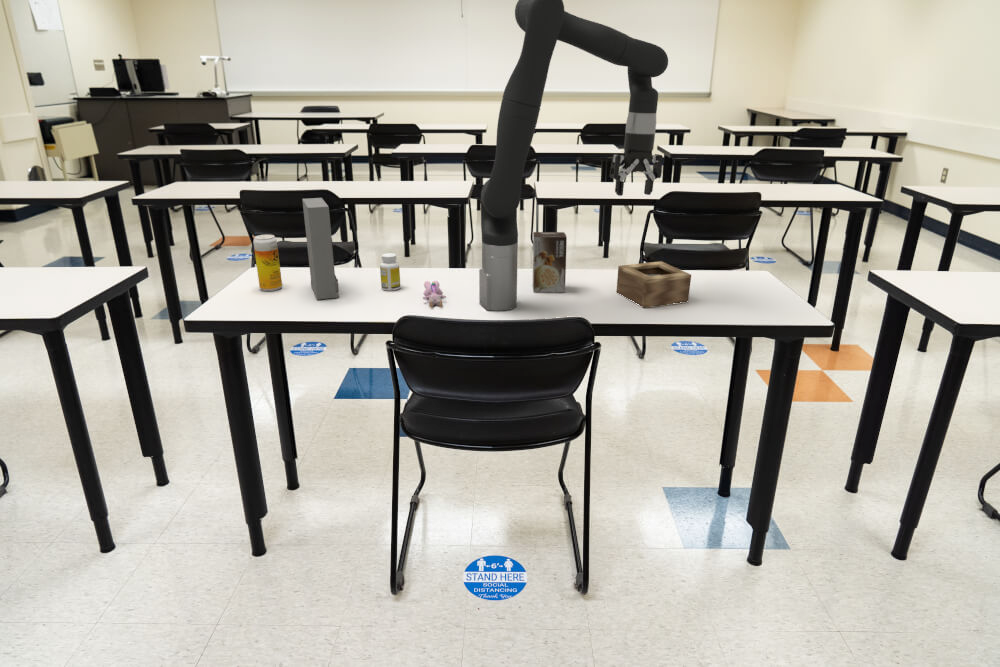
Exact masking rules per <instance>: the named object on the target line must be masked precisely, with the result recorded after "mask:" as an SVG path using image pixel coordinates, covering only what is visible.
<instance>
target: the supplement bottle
mask: <svg viewBox="0 0 1000 667" xmlns="http://www.w3.org/2000/svg"><path fill="white" fill-rule="evenodd" d="M381 260H382V262H380V264H379V271H380V272H379V273H380V285H381V289H382V290H383V291H389V292H391V291H393V292H394V291H397V290H400V289H401V273H400V272H401V271H400V270H401V269H400V264H399V262H398V261H397V254H396V253H392V252H390V253H387V252H386V253H383V254H382V255H381Z"/></svg>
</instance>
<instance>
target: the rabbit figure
mask: <svg viewBox="0 0 1000 667" xmlns="http://www.w3.org/2000/svg"><path fill="white" fill-rule="evenodd" d="M423 286H424V288H425V290H424V291H423V295H424V296H422V299H423V300H425V299H428V301H427V302H428V305H429V308H430V309H431V310H432V308H433V309H434V306H437V307H438V308H442V307H443V305H442V304H443V300H442V298H444V299H445V298H447V296H446V295H442V294H443V291H442V289H441V288H440V283H439V281H438V280H432V282H430V281H428V280H427V281H424V283H423Z"/></svg>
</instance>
